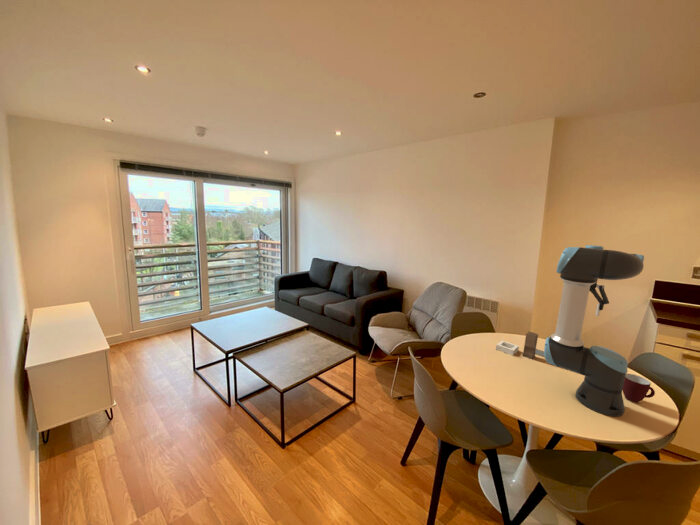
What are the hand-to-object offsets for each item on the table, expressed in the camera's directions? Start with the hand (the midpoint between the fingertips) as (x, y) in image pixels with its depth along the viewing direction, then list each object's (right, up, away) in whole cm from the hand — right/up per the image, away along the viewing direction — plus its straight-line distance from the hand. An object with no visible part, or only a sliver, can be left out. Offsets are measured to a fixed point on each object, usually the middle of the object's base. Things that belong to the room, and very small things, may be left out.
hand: (581, 311), depth 151 cm
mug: (-6, -33, -34) cm, 47 cm away
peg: (-29, -25, +1) cm, 38 cm away
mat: (-20, -25, +6) cm, 32 cm away
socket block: (-37, -24, +8) cm, 45 cm away
